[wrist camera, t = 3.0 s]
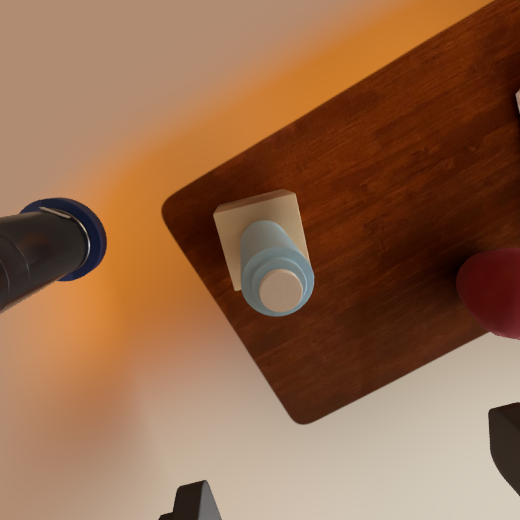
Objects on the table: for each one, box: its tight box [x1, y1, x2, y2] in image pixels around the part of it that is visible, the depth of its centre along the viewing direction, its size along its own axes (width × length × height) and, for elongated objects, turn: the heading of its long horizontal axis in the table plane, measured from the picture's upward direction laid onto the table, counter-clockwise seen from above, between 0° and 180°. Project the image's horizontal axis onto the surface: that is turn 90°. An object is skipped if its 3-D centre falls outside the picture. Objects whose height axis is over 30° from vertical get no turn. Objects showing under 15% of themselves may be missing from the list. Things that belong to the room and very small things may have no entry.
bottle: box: [240, 220, 314, 316], centre depth 28 cm, size 5×5×15 cm
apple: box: [456, 248, 520, 340], centre depth 42 cm, size 12×12×13 cm
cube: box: [213, 189, 311, 291], centre depth 40 cm, size 9×9×10 cm
